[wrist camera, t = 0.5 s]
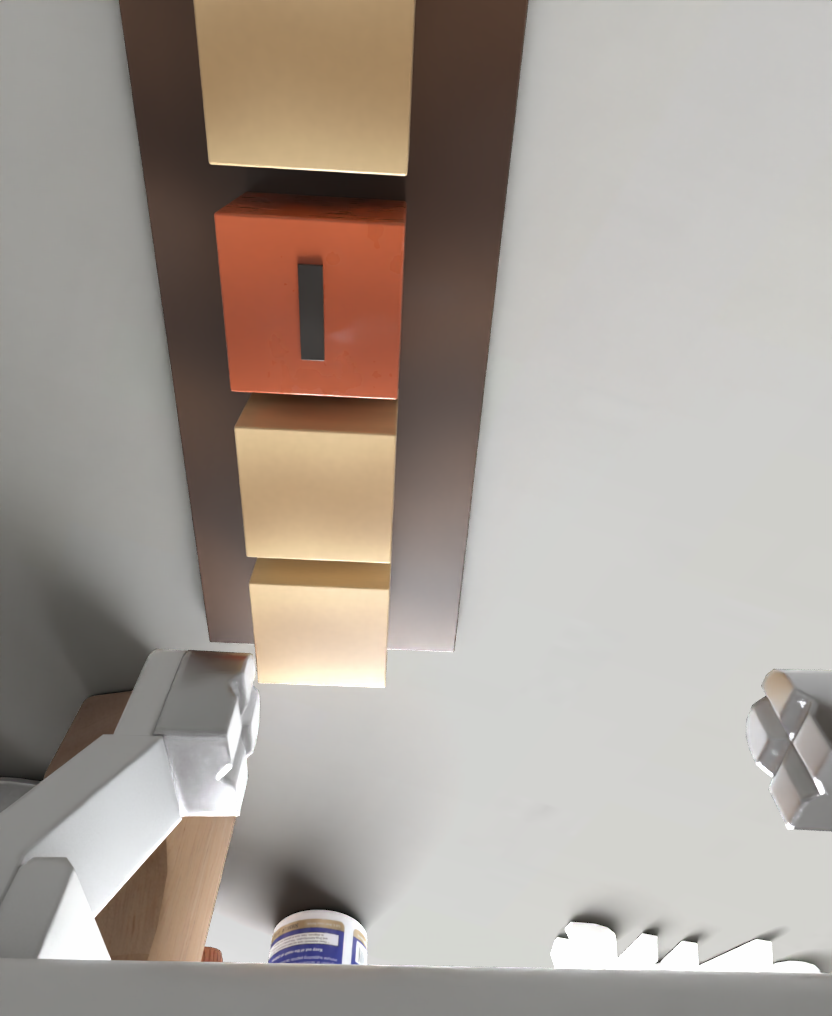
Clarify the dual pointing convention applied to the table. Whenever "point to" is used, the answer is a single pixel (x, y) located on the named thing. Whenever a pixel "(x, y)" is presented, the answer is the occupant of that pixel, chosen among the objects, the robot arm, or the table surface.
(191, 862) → the wooden block
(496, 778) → the table surface
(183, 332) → the dark brown board
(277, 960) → the pill bottle
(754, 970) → the text logo
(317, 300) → the red minus sign cube
